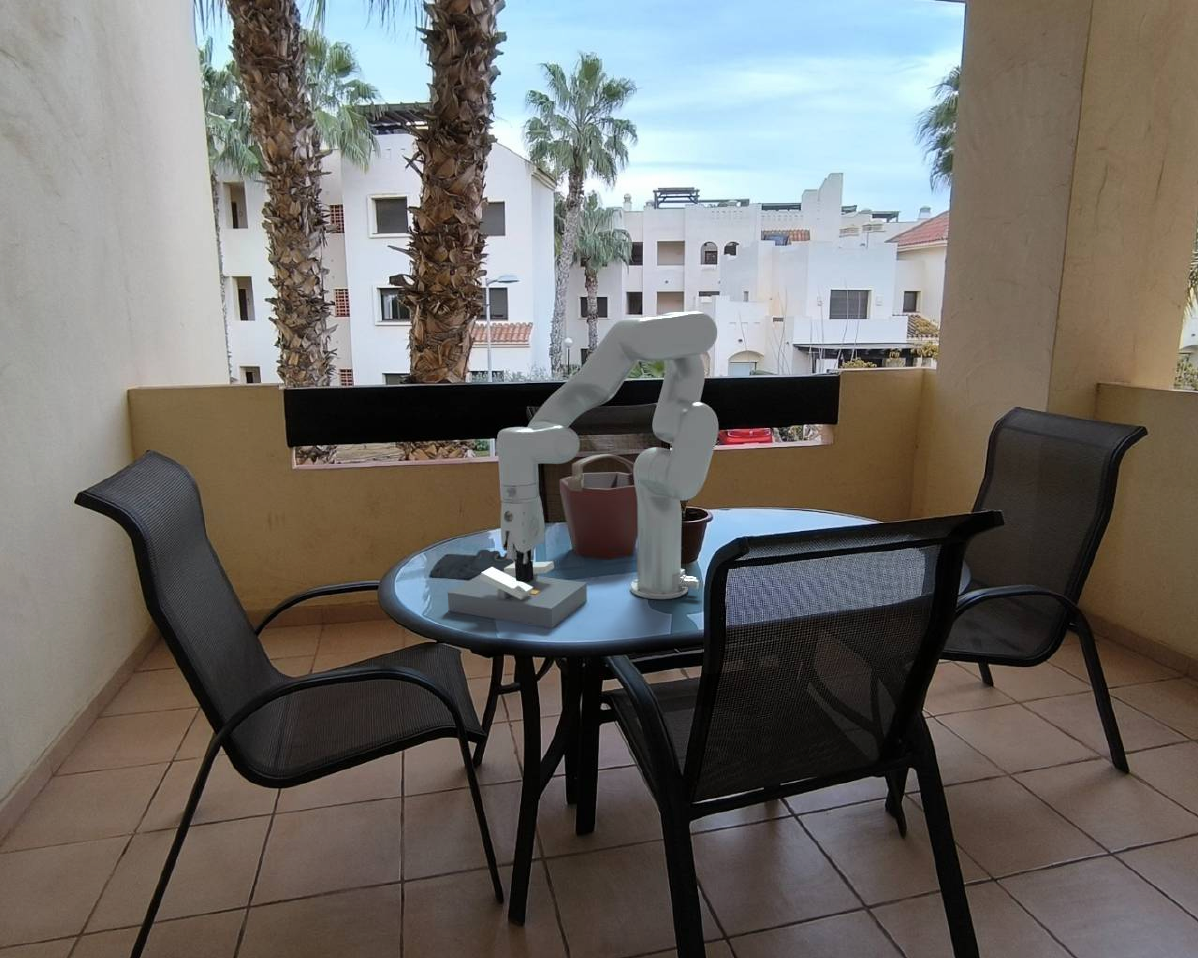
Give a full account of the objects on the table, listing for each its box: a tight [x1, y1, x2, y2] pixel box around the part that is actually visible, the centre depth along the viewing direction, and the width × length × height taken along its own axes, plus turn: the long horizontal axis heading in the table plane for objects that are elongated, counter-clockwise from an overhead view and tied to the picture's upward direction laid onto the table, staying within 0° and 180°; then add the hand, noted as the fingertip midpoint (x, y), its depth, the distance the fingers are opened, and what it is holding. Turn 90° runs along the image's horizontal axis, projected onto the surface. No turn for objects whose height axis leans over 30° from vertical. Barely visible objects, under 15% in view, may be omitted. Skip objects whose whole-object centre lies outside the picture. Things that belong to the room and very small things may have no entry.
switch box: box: [447, 571, 588, 629], centre depth 156 cm, size 24×16×6 cm, turn 66°
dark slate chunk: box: [429, 549, 514, 581], centre depth 180 cm, size 15×22×5 cm
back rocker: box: [504, 561, 555, 575], centre depth 160 cm, size 10×4×1 cm, turn 66°
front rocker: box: [480, 567, 533, 600], centre depth 151 cm, size 10×4×1 cm, turn 66°
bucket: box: [559, 453, 637, 561], centre depth 194 cm, size 24×22×25 cm
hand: (524, 580), depth 150 cm, fingers closed
